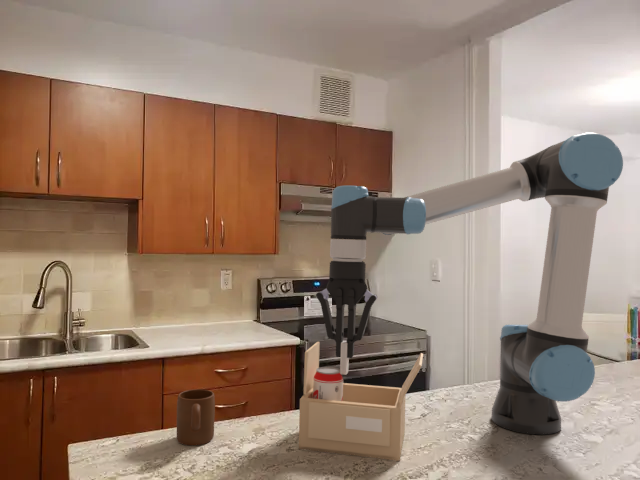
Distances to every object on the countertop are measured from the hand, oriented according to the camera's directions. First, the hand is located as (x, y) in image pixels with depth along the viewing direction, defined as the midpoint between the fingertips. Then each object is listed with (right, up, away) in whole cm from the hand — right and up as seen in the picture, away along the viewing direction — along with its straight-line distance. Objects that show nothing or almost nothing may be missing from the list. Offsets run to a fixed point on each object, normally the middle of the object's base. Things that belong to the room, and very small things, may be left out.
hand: (344, 372), depth 108 cm
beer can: (-4, -16, 0) cm, 16 cm away
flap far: (-7, +1, +2) cm, 7 cm away
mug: (-30, -14, -3) cm, 34 cm away
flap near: (+13, 0, -3) cm, 14 cm away
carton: (+2, -14, 0) cm, 14 cm away
